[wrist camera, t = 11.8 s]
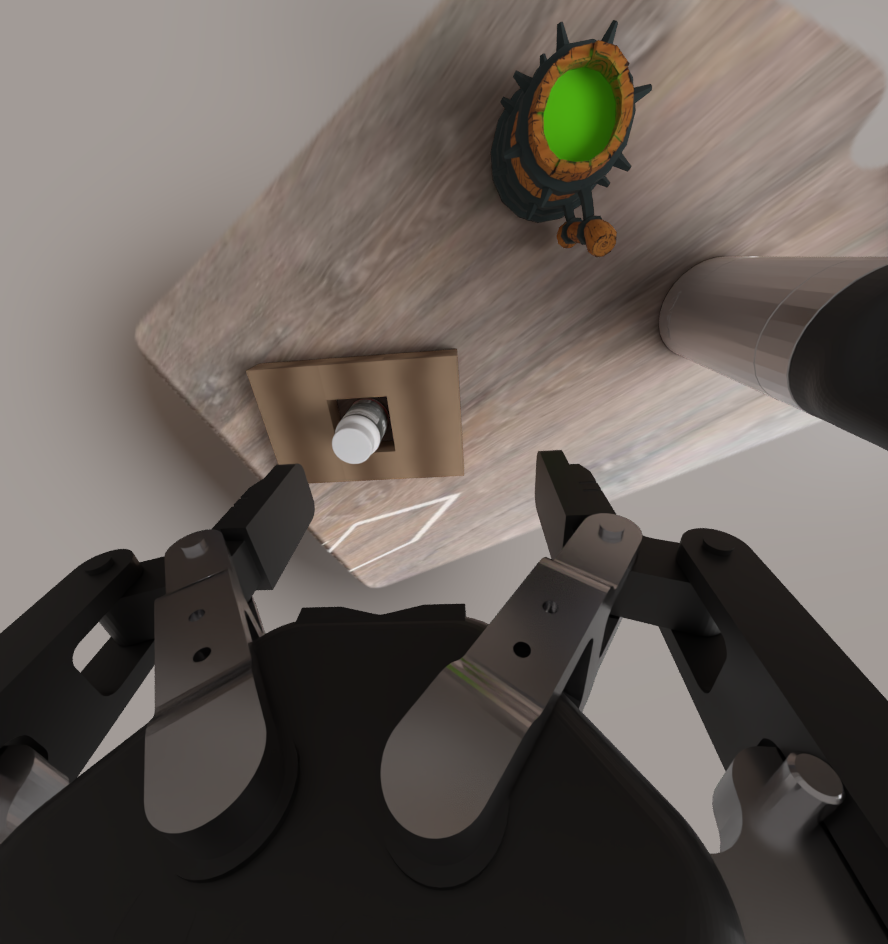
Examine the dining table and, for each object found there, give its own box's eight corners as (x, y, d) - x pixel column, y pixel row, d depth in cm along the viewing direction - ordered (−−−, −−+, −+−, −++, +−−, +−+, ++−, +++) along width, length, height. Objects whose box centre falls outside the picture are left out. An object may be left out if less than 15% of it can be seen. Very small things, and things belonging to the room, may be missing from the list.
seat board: (457, 348, 40) (456, 355, 37) (463, 463, 47) (464, 475, 44) (259, 363, 41) (246, 370, 39) (294, 472, 48) (285, 484, 46)
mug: (471, 107, 30) (477, 34, 20) (599, 42, 28) (677, -75, 18) (512, 277, 36) (533, 285, 26) (621, 234, 34) (688, 224, 24)
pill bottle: (379, 440, 46) (364, 475, 38) (343, 423, 44) (321, 455, 37) (396, 408, 43) (383, 439, 36) (358, 389, 42) (337, 416, 35)
